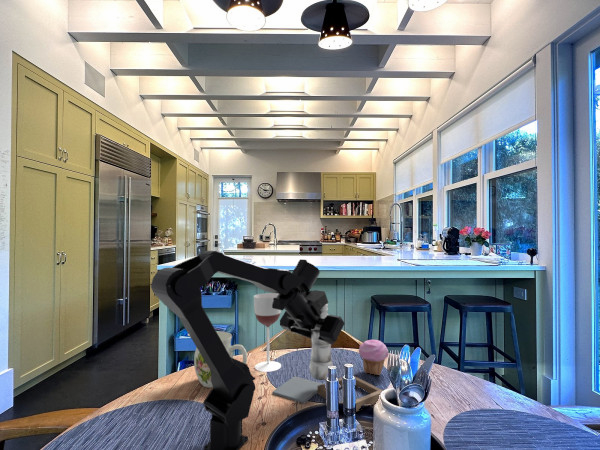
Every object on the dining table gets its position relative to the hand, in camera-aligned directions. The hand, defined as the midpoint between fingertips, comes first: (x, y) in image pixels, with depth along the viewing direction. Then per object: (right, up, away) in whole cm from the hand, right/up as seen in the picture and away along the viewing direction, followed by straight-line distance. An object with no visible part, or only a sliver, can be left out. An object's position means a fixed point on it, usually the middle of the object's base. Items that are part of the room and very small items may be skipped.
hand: (324, 340), depth 86 cm
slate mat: (-7, -13, -1) cm, 15 cm away
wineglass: (-17, -15, +16) cm, 28 cm away
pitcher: (-31, -14, +5) cm, 34 cm away
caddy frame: (+7, -13, -4) cm, 15 cm away
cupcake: (+16, -14, +10) cm, 24 cm away
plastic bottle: (-1, -10, -2) cm, 10 cm away
